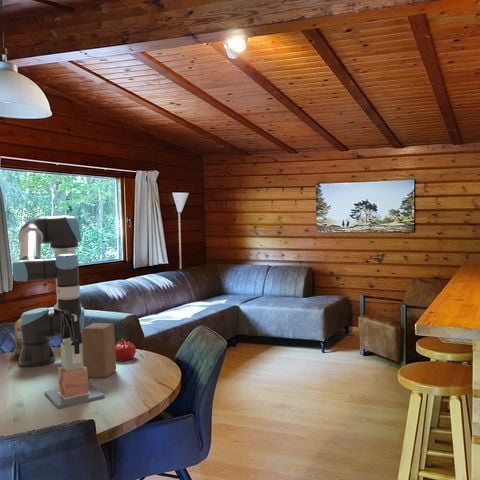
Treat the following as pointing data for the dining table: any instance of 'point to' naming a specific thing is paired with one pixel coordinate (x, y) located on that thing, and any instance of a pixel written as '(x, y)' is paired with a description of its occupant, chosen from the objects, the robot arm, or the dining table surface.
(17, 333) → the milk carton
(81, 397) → the board
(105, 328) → the wooden block
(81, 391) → the terracotta block
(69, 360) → the sage block
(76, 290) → the robot arm
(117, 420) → the dining table surface
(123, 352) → the pomegranate
